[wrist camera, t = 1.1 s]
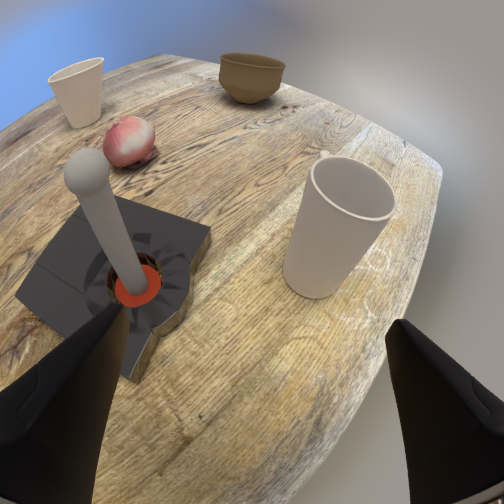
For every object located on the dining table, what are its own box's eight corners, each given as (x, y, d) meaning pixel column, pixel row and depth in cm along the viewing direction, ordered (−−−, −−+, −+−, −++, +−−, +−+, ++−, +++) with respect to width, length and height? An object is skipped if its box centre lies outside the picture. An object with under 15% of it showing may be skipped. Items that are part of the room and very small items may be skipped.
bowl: (291, 105, 50) (299, 63, 42) (246, 118, 45) (251, 68, 37) (249, 86, 55) (254, 48, 47) (205, 97, 49) (206, 54, 41)
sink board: (149, 390, 19) (141, 386, 17) (26, 305, 21) (14, 295, 19) (221, 245, 28) (221, 230, 26) (100, 202, 30) (94, 188, 28)
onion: (122, 145, 38) (114, 107, 32) (166, 145, 38) (162, 104, 32) (100, 177, 33) (87, 135, 27) (148, 178, 33) (140, 133, 27)
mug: (350, 297, 26) (412, 219, 16) (288, 307, 25) (331, 222, 15) (321, 221, 32) (355, 136, 22) (267, 224, 31) (286, 131, 21)
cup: (99, 103, 48) (91, 56, 38) (122, 113, 44) (114, 58, 34) (54, 127, 42) (41, 79, 32) (70, 141, 38) (55, 83, 28)
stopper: (149, 321, 23) (77, 189, 10) (110, 301, 23) (30, 173, 10) (171, 280, 25) (135, 134, 13) (133, 264, 26) (82, 127, 13)
